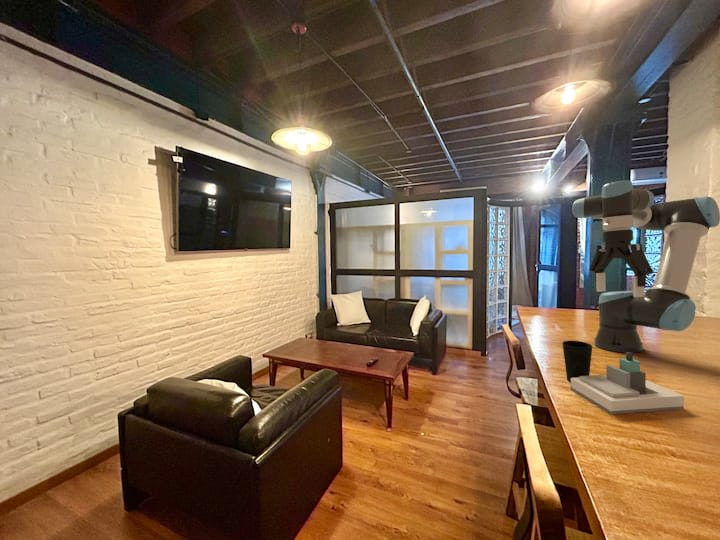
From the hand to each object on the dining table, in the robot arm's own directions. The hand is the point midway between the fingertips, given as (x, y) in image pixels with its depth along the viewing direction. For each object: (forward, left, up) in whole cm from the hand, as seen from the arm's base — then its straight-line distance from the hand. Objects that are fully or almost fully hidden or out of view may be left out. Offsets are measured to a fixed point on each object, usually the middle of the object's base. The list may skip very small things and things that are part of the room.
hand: (618, 294), depth 98 cm
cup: (+18, +5, -27) cm, 32 cm away
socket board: (+15, +17, -26) cm, 34 cm away
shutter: (+19, +17, -23) cm, 34 cm away
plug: (+12, +17, -26) cm, 33 cm away
